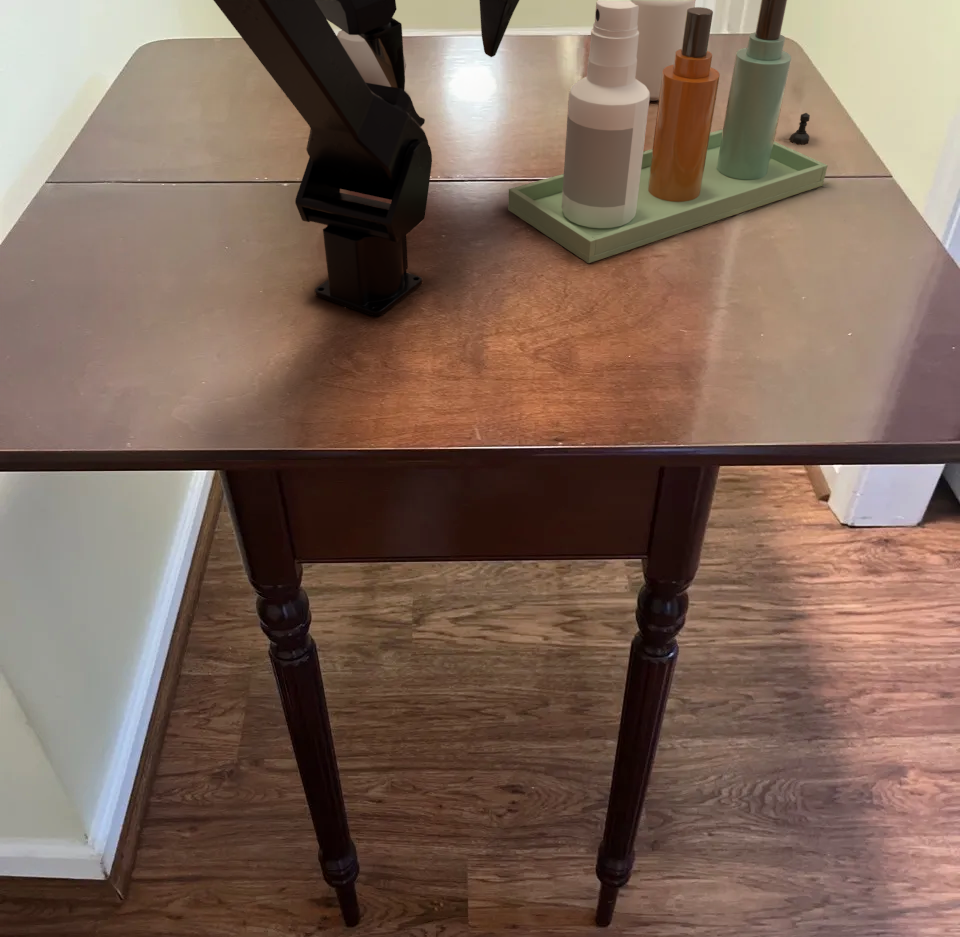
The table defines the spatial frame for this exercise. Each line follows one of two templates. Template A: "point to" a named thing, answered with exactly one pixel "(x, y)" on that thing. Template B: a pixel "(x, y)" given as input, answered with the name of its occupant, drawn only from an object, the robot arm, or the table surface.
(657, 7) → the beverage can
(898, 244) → the table surface
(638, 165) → the spray bottle
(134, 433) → the table surface
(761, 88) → the celadon bottle
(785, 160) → the tray
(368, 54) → the potion bottle
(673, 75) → the amber bottle
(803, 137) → the chess pawn
